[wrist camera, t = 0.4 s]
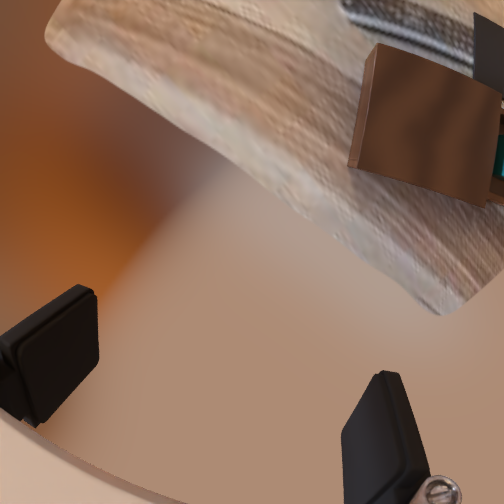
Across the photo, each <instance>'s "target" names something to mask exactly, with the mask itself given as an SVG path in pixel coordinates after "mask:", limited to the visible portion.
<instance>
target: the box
mask: <svg viewBox="0 0 504 504" xmlns="http://www.w3.org/2000/svg"><path fill="white" fill-rule="evenodd" d="M492 176H493V177H495V178H497V179H499V180H502V181H504V135H498V142H497V149H496V155H495V161H494V167H493V172H492Z"/></svg>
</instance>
